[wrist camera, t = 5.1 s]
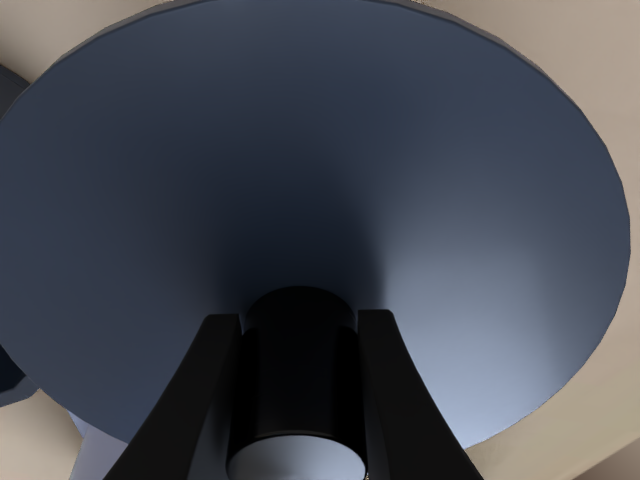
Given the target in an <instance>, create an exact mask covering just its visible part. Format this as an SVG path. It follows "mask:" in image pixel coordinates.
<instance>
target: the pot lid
mask: <svg viewBox="0 0 640 480" xmlns="http://www.w3.org/2000/svg"><path fill="white" fill-rule="evenodd" d="M630 254H631V249H630V216H629V212H628V208H627V203H626V199H625V194H624V190H623V185H622V181H621V179H620V177H619V174H618V172H617V170H616V168H615V165H614V163H613V161H612V158H611V156H610V154H609V152H608V149H607V147H606V145H605V144H604V142H603V141H602V139H601V138H600V136H599V135H598V134H597V132H596V131H595V129H594V128H593V126H592V125H591V123H590V122H589V121H588V119H587V118H586V116H585V115H584V113H583V112H582V110H581V109H580V108H579V107H578V106H577V105H576V103H575V102H574V101H573V100H572V99H571V98H570V97H569V96H568V95H567V94H566V93H565V92H564V91H563V90H562V89H561V88H560V87H559V86H558V85H557V84H556V83H555V82H554V81H553V80H552V79H551V78H550V77H549V76H548V75H547V74H546V73H545V72H544V71H543V70H542V69H541V68H540V67H539V66H538V65H536V64H535V63H533V62H532V61H531V60H529V59H528V58H526V57H525V56H524V55H522V54H521V53H519V52H518V51H517V50H515V49H514V48H512V47H511V46H510V45H508V44H507V43H505V42H504V41H503V40H501V39H500V38H498V37H496V36H494V35H492V34H490V33H488V32H486V31H484V30H482V29H480V28H478V27H476V26H474V25H472V24H470V23H468V22H466V21H464V20H462V19H460V18H458V17H456V16H454V15H452V14H450V13H448V12H445V11H442V10H439V9H435V8H432V7H429V6H426V5H423V4H420V3H417V2H414V1H411V0H174V1H170V2H167V3H163V4H159V5H156V6H153V7H151V8H149V9H147V10H144V11H142V12H140V13H137V14H135V15H133V16H130V17H128V18H126V19H124V20H121V21H119V22H117V23H114V24H112V25H110V26H108V27H105V28H104V29H102V30H101V31H99V32H98V33H96V34H95V35H93V36H91V37H90V38H88V39H87V40H85V41H84V42H82V43H81V44H79V45H77V46H76V47H74V48H73V49H71V50H70V51H68V52H67V53H65V54H63V55H62V56H61V57H60V58H59V59H58V60H57V61H56V62H55V63H53V64H52V65H51V66H50V67H49V68H48V69H47V70H46V71H45V72H44V73H43V74H42V75H40V76H39V77H38V78H37V79H36V80H35V81H34V82H33V83H32V84H31V85H30V86H28V87H27V88H26V89H25V90H24V91H23V92H22V93H21V94H20V95H19V96H18V97H17V98H16V100H15V101H14V102H13V104H12V105H11V106H10V108H9V109H8V110H7V112H6V113H5V115H4V116H3V117H2V119H1V120H0V344H1V345H2V347H3V348H4V349H5V351H6V352H7V354H8V355H9V356H10V358H11V359H12V360H13V361H14V362H15V363H16V365H17V366H18V367H19V368H20V369H21V370H22V371H23V372H24V373H25V374H26V375H27V376H28V377H29V378H30V379H31V381H32V382H33V383H34V384H36V385H37V386H38V387H39V388H40V389H42V390H43V391H44V392H45V393H46V394H47V395H49V396H50V397H51V398H52V399H53V400H54V401H56V402H57V403H58V404H60V405H61V406H62V407H64V408H65V409H67V410H68V411H70V412H71V413H73V414H74V415H76V416H77V417H78V418H80V419H81V420H83V421H85V422H86V423H88V424H90V425H92V426H93V427H95V428H97V429H99V430H101V431H102V432H104V433H106V434H108V435H109V436H112V437H114V438H116V439H118V440H120V441H122V442H125V443H127V444H129V443H130V441H131V440H132V438H133V437H134V436H135V434H136V433H137V431H138V430H139V428H140V427H141V425H142V424H143V423H144V421H145V420H146V418H147V417H148V415H149V414H150V412H151V411H152V409H153V408H154V406H155V405H156V403H157V401H158V400H159V398H160V396H161V395H162V393H163V392H164V390H165V388H166V387H167V385H168V383H169V382H170V380H171V379H172V377H173V375H174V374H175V372H176V370H177V369H178V367H179V365H180V363H181V362H182V360H183V358H184V356H185V354H186V353H187V351H188V349H189V347H190V345H191V343H192V342H193V340H194V338H195V336H196V334H197V332H198V330H199V328H200V326H201V324H202V322H203V320H204V318H205V317H206V316H208V315H209V314H238V313H239V318H240V323H241V329H242V334H243V337H242V345H241V352H240V359H239V366H238V374H237V381H236V388H235V395H234V402H233V410H232V417H231V424H230V432H229V439H228V446H227V453H226V461H225V470H226V474H227V476H228V479H229V480H365V478H366V476H367V475H368V468H369V467H368V455H367V443H366V430H365V418H364V405H363V393H362V382H361V374H360V362H359V349H358V336H357V323H358V310H366V309H389V310H390V311H391V312H393V314H394V317H395V320H396V323H397V326H398V328H399V331H400V334H401V336H402V338H403V341H404V343H405V345H406V348H407V350H408V352H409V354H410V356H411V358H412V360H413V362H414V365H415V367H416V369H417V371H418V373H419V374H420V376H421V378H422V380H423V382H424V384H425V386H426V387H427V389H428V391H429V393H430V395H431V397H432V398H433V400H434V402H435V404H436V406H437V407H438V409H439V411H440V412H441V414H442V416H443V417H444V419H445V421H446V423H447V424H448V426H449V427H450V429H451V431H452V432H453V434H454V435H455V437H456V439H457V440H458V442H459V443H460V445H461V446H462V448H463V449H466V448H468V447H470V446H473V445H475V444H477V443H479V442H482V441H484V440H486V439H488V438H490V437H492V436H494V435H496V434H497V433H499V432H501V431H503V430H505V429H507V428H508V427H510V426H512V425H514V424H515V423H517V422H518V421H520V420H521V419H523V418H524V417H526V416H527V415H529V414H530V413H532V412H533V411H534V410H536V409H537V408H539V407H540V406H541V405H542V404H544V403H545V402H546V401H547V400H548V399H550V398H551V397H552V396H553V395H554V394H556V393H557V392H558V391H559V390H560V389H562V387H563V386H564V385H565V384H566V383H567V382H568V381H569V380H570V379H571V378H572V377H573V376H574V375H575V374H576V373H577V372H578V371H579V370H580V369H581V368H582V366H583V365H584V364H585V362H586V361H587V360H588V358H589V357H590V356H591V354H592V353H593V351H594V350H595V349H596V347H597V346H598V345H599V343H600V342H601V340H602V338H603V336H604V334H605V333H606V331H607V329H608V327H609V325H610V323H611V321H612V320H613V318H614V316H615V314H616V311H617V308H618V305H619V302H620V299H621V296H622V293H623V291H624V288H625V284H626V278H627V272H628V266H629V260H630Z"/></svg>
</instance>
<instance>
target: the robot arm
mask: <svg viewBox="0 0 640 480" xmlns="http://www.w3.org/2000/svg"><path fill="white" fill-rule="evenodd" d="M357 336H358V349H359V362H360V374H361V382H362V393H363V405H364V418H365V430H366V443H367V455H368V467H369V468H368V477H369V480H484V479H483V477H482V476H481V475H480V473H479V472H478V470H477V469H476V467H475V466H474V464H473V463H472V462H471V460H470V459H469V457H468V456H467V454H466V452H465V451H464V449H463V448H462V446H461V445H460V443H459V442H458V440H457V439H456V437H455V435H454V434H453V432H452V431H451V429H450V427H449V426H448V424H447V423H446V421H445V419H444V417H443V416H442V414H441V412H440V411H439V409H438V407H437V406H436V404H435V402H434V400H433V398H432V397H431V395H430V393H429V391H428V389H427V387H426V386H425V384H424V382H423V380H422V378H421V376H420V374H419V373H418V371H417V369H416V367H415V365H414V362H413V360H412V358H411V356H410V354H409V352H408V350H407V348H406V345H405V343H404V341H403V338H402V336H401V334H400V331H399V328H398V326H397V323H396V320H395V317H394V314H393V312H391V311H390V310H389V309H366V310H358V323H357ZM242 337H243V334H242V329H241V323H240V318H239V313H238V314H209V315H208V316H206V317H205V318H204V320H203V322H202V324H201V326H200V328H199V330H198V332H197V334H196V336H195V338H194V340H193V342H192V343H191V345H190V347H189V349H188V351H187V353H186V354H185V356H184V358H183V360H182V362H181V363H180V365H179V367H178V369H177V370H176V372H175V374H174V375H173V377H172V379H171V380H170V382H169V383H168V385H167V387H166V388H165V390H164V392H163V393H162V395H161V396H160V398H159V400H158V401H157V403H156V405H155V406H154V408H153V409H152V411H151V412H150V414H149V415H148V417H147V418H146V420H145V421H144V423H143V424H142V425H141V427H140V428H139V430H138V431H137V433H136V434H135V436H134V437H133V438H132V440H131V441H130V443H129V444H127V443H125V442H122V441H120V440H118V439H116V438H114V437H112V436H109V435H108V434H106V433H104V432H102V431H101V430H99V429H97V428H95V427H93V426H92V425H90V424H88V423H86V422H85V421H83V420H81V419H80V418H78V417H77V416H76V415H74V414H73V413H71V412H70V411H68V410H67V411H68V413H69V415H70V416H71V418H72V420H73V422H74V423H75V425H76V427H77V429H78V431H79V432H80V434H81V436H82V438H83V442H82V445H81V448H80V450H79V453H78V456H77V458H76V461H75V464H74V467H73V469H72V472H71V475H70V478H69V480H229V479H228V476H227V474H226V470H225V461H226V453H227V446H228V439H229V432H230V424H231V417H232V410H233V402H234V395H235V388H236V381H237V374H238V366H239V359H240V352H241V345H242Z"/></svg>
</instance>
